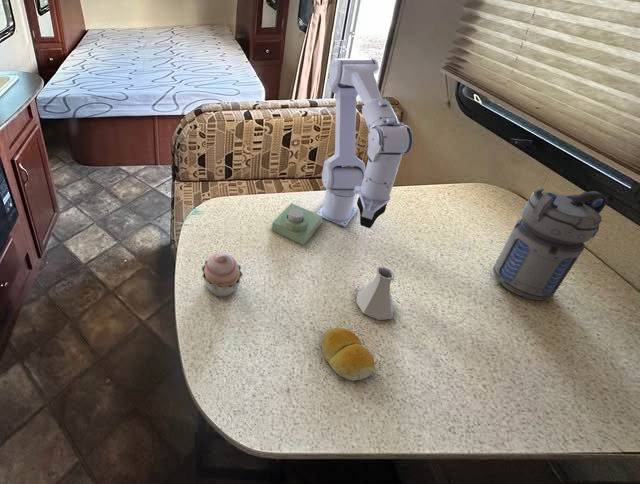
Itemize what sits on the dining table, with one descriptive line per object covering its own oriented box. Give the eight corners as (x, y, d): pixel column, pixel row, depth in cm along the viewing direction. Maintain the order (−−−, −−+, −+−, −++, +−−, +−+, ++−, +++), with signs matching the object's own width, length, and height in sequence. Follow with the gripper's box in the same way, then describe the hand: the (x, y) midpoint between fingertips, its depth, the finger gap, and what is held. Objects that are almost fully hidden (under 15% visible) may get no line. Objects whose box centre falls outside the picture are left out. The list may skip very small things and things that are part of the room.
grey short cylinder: (291, 212, 101) (292, 206, 100) (304, 218, 98) (305, 212, 97) (285, 219, 98) (286, 213, 97) (298, 225, 96) (299, 219, 95)
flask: (388, 295, 81) (400, 262, 77) (398, 324, 75) (411, 290, 70) (352, 289, 83) (362, 256, 78) (359, 317, 77) (369, 283, 72)
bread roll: (347, 330, 74) (351, 317, 73) (380, 375, 67) (385, 361, 65) (310, 340, 73) (313, 327, 71) (340, 386, 65) (344, 373, 63)
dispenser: (290, 210, 108) (292, 197, 106) (320, 223, 102) (323, 210, 100) (271, 229, 101) (273, 217, 99) (303, 245, 95) (305, 232, 93)
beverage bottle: (575, 299, 78) (642, 205, 67) (517, 306, 77) (574, 212, 66) (529, 263, 87) (580, 174, 76) (476, 268, 86) (520, 180, 75)
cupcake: (198, 299, 82) (198, 267, 78) (203, 267, 90) (204, 236, 86) (240, 307, 80) (243, 274, 75) (242, 273, 88) (245, 242, 83)
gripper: (365, 157, 87) (353, 203, 93) (352, 187, 77) (340, 236, 83) (399, 165, 83) (385, 212, 90) (390, 198, 73) (375, 249, 79)
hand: (365, 225), depth 86 cm, fingers closed
